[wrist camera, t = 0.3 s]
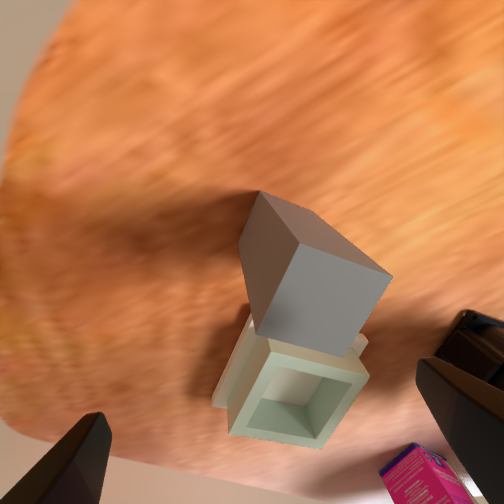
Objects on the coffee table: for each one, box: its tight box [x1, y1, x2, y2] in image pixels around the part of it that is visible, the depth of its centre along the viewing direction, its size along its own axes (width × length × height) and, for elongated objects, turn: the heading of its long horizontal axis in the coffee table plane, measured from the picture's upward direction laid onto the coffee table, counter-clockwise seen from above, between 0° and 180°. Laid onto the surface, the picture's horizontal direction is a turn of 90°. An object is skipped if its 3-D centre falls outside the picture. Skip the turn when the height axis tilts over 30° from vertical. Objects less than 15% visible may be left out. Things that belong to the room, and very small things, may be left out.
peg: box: [238, 190, 393, 358], centre depth 16 cm, size 4×4×10 cm
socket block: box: [212, 313, 371, 450], centre depth 23 cm, size 10×10×4 cm
